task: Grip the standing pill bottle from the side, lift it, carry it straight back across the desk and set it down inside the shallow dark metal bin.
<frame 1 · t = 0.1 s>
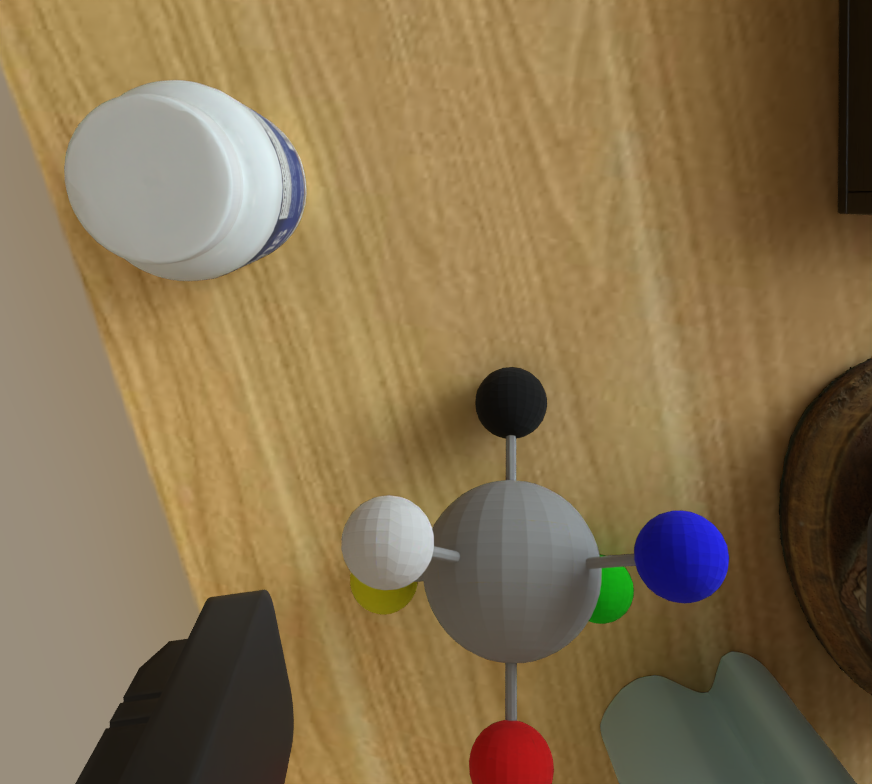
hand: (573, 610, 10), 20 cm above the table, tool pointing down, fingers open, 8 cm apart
pill bottle: (235, 187, 28), on the table
molecular model: (493, 510, 31), on the table
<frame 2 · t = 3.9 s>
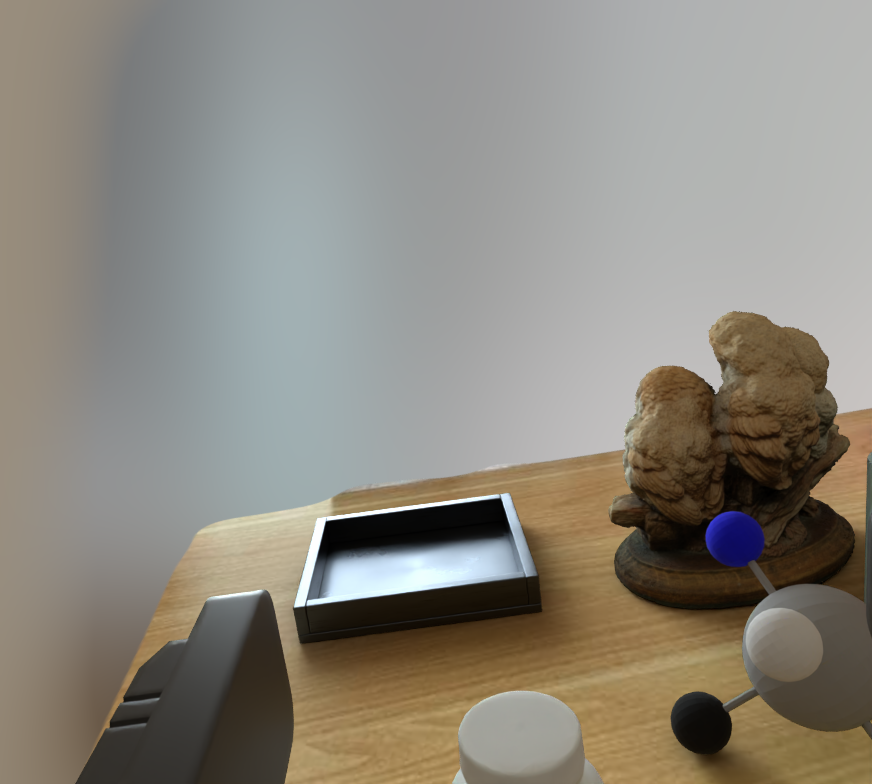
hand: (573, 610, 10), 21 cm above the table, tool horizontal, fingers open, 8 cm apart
bin: (419, 575, 55), on the table
owl figurine: (737, 557, 52), on the table
molecular model: (816, 751, 35), on the table
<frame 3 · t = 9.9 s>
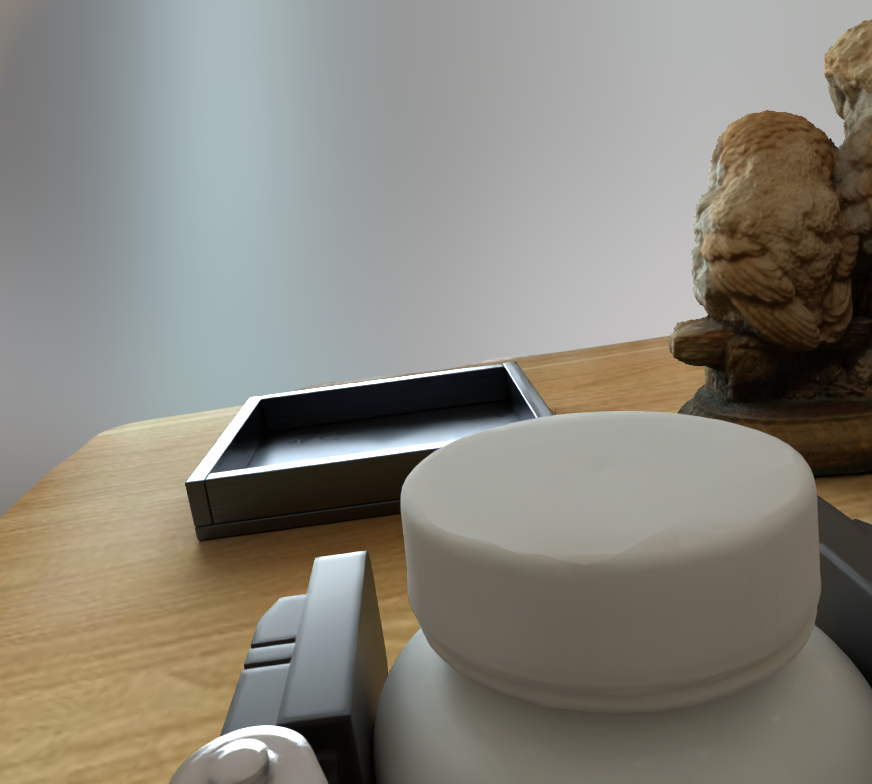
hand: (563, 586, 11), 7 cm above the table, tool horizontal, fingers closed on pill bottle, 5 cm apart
bin: (387, 460, 38), on the table
owl figurine: (854, 422, 35), on the table
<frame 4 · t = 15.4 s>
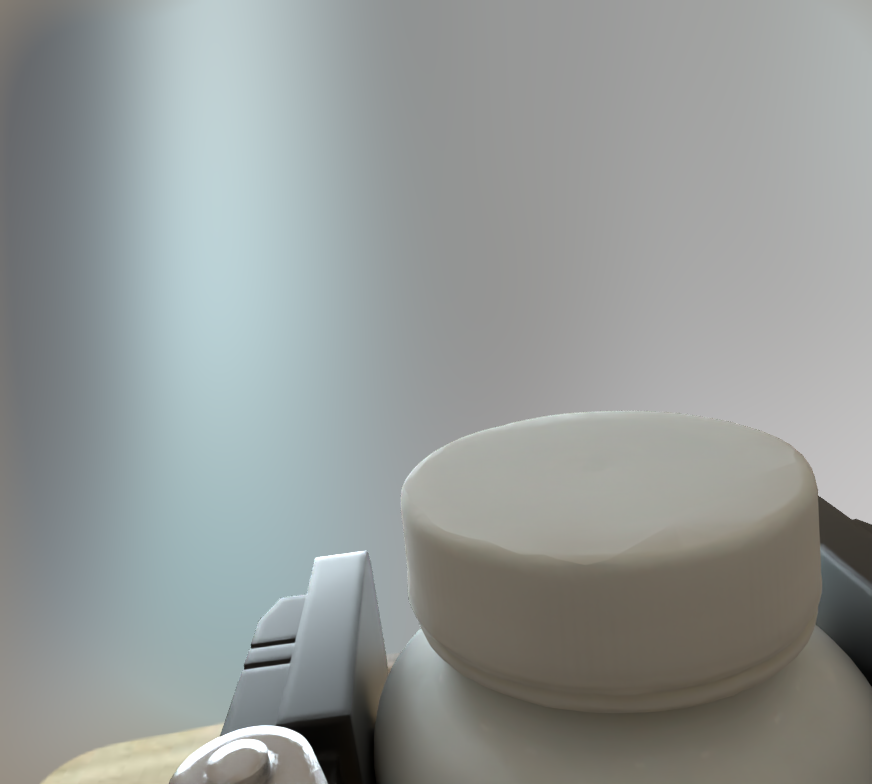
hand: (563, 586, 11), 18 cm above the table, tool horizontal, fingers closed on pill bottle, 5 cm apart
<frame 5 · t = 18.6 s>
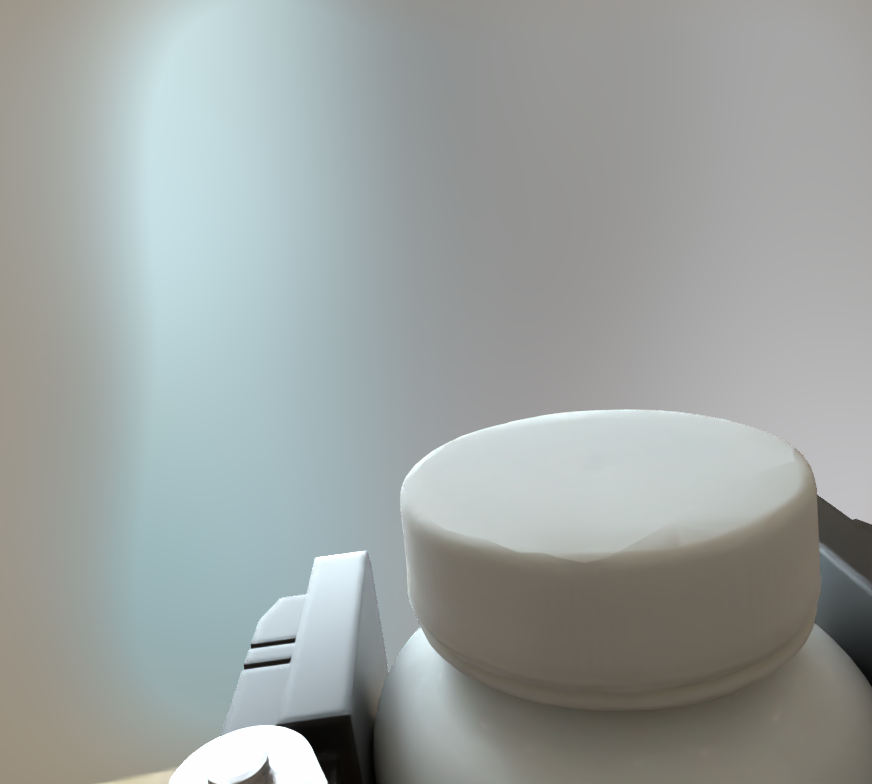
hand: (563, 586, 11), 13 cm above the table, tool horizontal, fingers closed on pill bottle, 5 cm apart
when the fingers open (8 cm above the table, at t = 20.9 s): pill bottle stays where it is, resting on bin.
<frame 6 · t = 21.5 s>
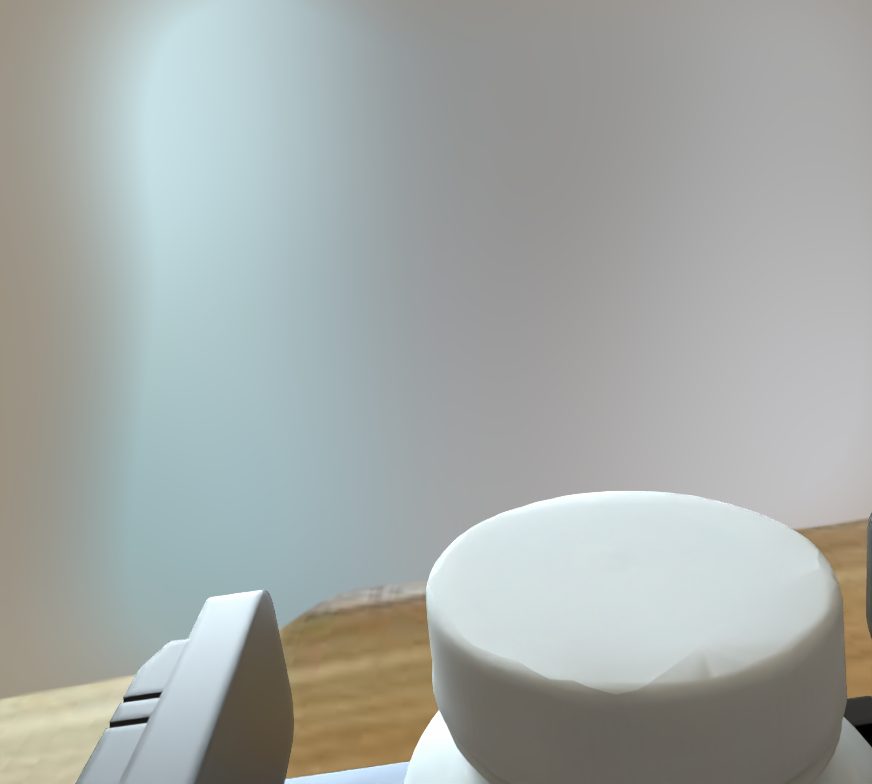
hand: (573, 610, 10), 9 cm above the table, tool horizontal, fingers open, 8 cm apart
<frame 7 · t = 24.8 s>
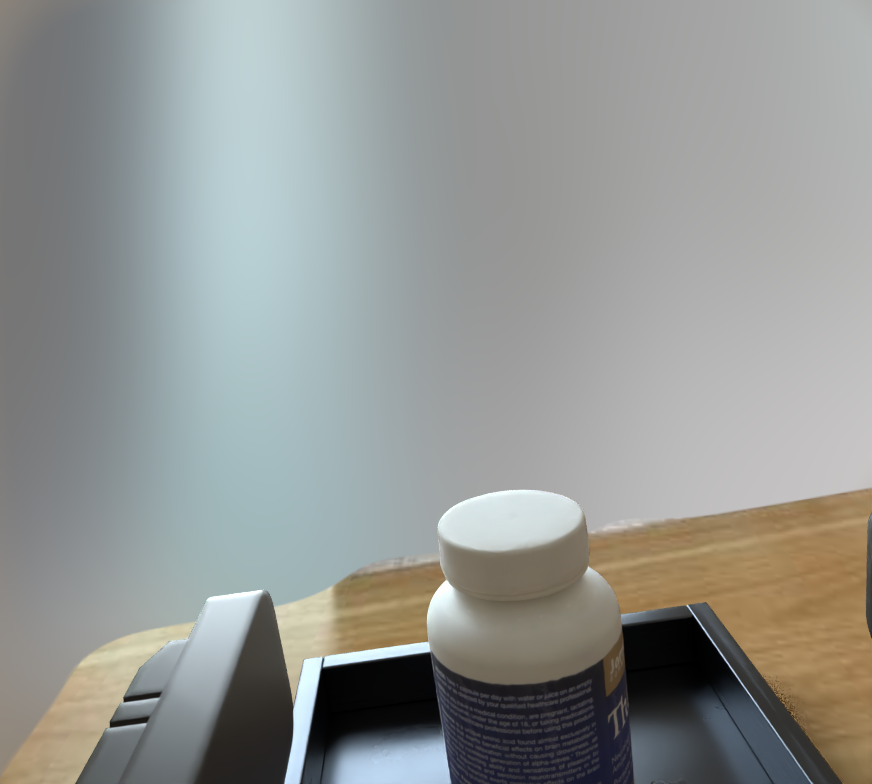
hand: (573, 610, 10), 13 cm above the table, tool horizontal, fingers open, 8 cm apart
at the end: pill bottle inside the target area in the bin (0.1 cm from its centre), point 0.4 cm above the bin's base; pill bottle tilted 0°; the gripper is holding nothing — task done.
